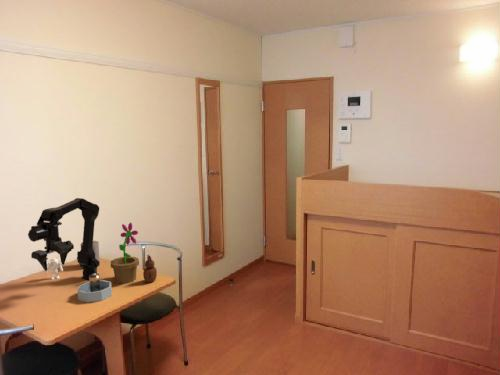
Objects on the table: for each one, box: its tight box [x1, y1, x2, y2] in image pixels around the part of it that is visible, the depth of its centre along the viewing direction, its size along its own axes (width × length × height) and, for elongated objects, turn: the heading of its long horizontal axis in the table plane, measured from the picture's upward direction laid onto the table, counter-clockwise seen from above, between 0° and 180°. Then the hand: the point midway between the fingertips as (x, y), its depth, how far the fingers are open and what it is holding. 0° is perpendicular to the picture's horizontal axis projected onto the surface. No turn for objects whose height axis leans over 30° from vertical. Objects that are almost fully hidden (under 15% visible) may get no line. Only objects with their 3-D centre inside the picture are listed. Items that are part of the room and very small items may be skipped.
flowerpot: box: [110, 222, 140, 284], centre depth 204 cm, size 14×14×30 cm
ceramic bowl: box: [77, 279, 113, 303], centre depth 187 cm, size 15×15×4 cm
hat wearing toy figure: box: [45, 255, 64, 280], centre depth 208 cm, size 9×4×12 cm, turn 118°
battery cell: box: [88, 272, 101, 292], centre depth 187 cm, size 4×4×10 cm
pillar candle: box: [80, 240, 100, 269], centre depth 226 cm, size 10×10×15 cm
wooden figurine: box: [142, 254, 158, 284], centre depth 203 cm, size 7×6×15 cm
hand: (54, 267), depth 187 cm, fingers open, 9 cm apart
